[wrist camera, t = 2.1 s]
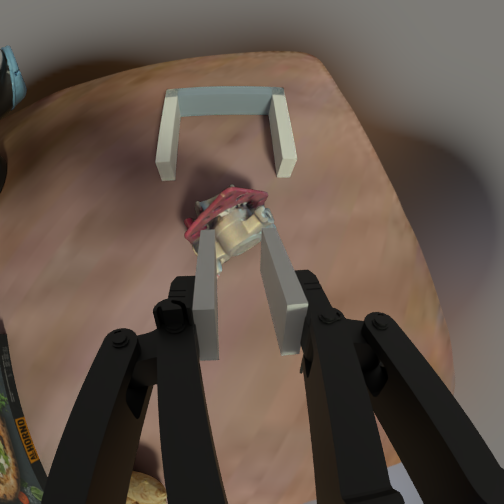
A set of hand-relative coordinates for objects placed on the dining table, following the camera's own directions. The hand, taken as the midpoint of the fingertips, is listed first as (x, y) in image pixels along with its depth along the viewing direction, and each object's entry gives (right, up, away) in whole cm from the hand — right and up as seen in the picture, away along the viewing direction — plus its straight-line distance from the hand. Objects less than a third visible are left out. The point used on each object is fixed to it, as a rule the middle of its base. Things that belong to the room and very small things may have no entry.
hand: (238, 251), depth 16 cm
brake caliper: (-2, +3, +23) cm, 23 cm away
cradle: (-4, +18, +27) cm, 33 cm away
